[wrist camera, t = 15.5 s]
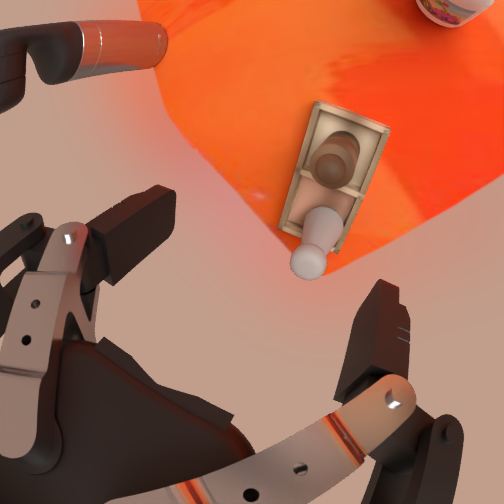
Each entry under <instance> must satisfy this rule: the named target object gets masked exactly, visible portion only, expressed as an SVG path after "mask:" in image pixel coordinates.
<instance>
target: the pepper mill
mask: <svg viewBox="0 0 504 504" xmlns="http://www.w3.org/2000/svg"><path fill="white" fill-rule="evenodd" d="M359 154H360V144H359V142H358V140H357V138H356V137H355V136H354V135H353V134H351V133H349V132H347V131H336V132H334V133H332V134H331V135H330V136H329V137H328V138H327V139H326V140H325V141H324V142H323V143H322V144H321V145H320V146H319V147H318V148H317V149H316V150H315V152H314V153H313V154H312V156H311V158H310V162H309V168H310V172H311V175H312V177H313V178H314V179H315V181H316V182H317V183H319V184H320V185H321V186H323V187H326V188H329V189H338V188H342V187H344V186H346V185H347V184H348V183H349V182H350V181H351V179H352V178H353V175H354V172H355V168H356V165H357V161H358V157H359Z"/></svg>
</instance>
